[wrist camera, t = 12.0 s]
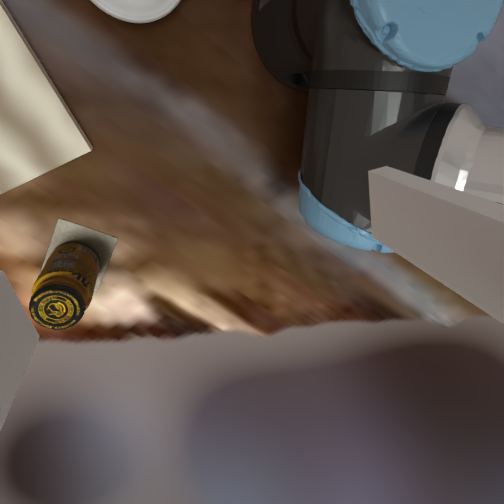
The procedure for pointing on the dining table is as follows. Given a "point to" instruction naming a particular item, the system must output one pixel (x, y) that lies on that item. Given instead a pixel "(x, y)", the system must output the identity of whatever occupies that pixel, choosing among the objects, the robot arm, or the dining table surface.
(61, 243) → the condiment
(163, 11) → the ramekin
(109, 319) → the dining table surface
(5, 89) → the post base
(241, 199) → the dining table surface
